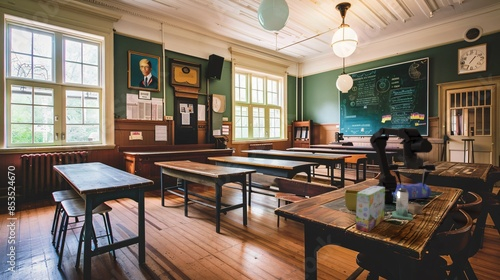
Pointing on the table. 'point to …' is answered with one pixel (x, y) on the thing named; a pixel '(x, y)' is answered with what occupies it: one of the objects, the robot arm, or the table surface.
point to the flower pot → (351, 199)
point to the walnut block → (415, 208)
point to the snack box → (370, 208)
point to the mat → (402, 216)
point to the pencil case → (415, 190)
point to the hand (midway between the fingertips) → (411, 185)
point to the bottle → (402, 202)
